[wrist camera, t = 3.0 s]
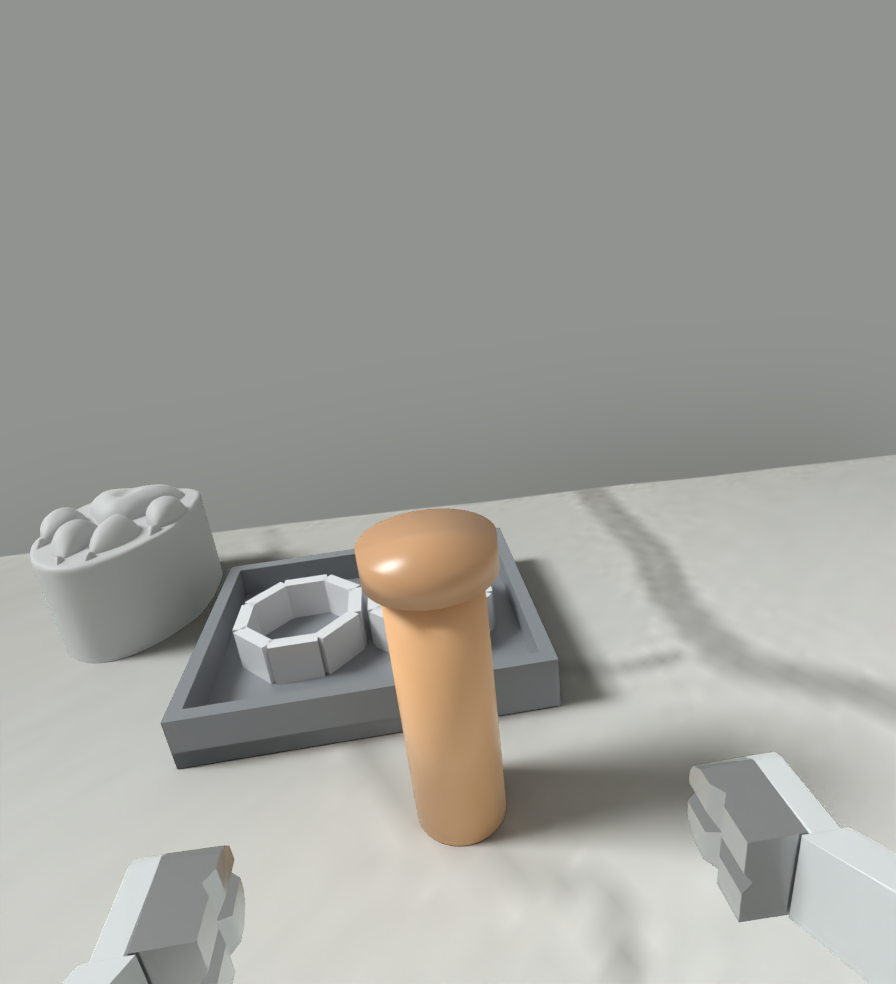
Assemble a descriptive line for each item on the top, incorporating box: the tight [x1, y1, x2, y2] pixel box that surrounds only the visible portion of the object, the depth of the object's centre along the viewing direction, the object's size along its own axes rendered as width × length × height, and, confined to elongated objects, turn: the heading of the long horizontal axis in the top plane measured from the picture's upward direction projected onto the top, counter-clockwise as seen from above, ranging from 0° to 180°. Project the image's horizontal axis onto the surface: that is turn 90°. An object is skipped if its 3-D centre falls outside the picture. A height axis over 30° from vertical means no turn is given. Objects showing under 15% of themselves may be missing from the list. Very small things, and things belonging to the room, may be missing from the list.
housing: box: [161, 528, 561, 769], centre depth 39 cm, size 16×20×4 cm
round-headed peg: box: [355, 509, 506, 846], centre depth 25 cm, size 5×5×13 cm
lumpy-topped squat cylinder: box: [30, 484, 223, 663], centre depth 45 cm, size 10×13×9 cm
